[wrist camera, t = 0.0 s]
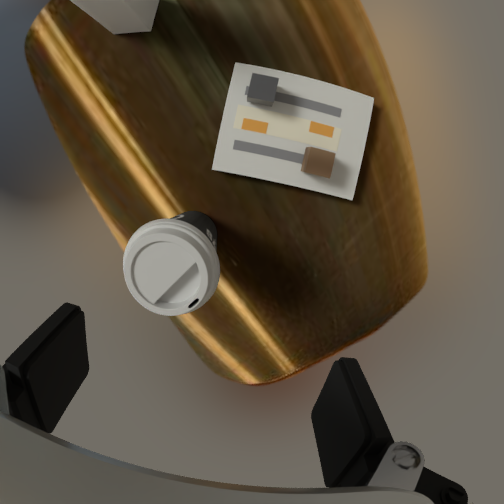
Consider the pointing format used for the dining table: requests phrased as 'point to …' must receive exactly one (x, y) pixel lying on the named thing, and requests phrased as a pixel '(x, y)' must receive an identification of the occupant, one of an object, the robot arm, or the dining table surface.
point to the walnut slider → (318, 162)
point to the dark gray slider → (262, 89)
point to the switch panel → (293, 131)
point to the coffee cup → (173, 263)
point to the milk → (121, 14)
